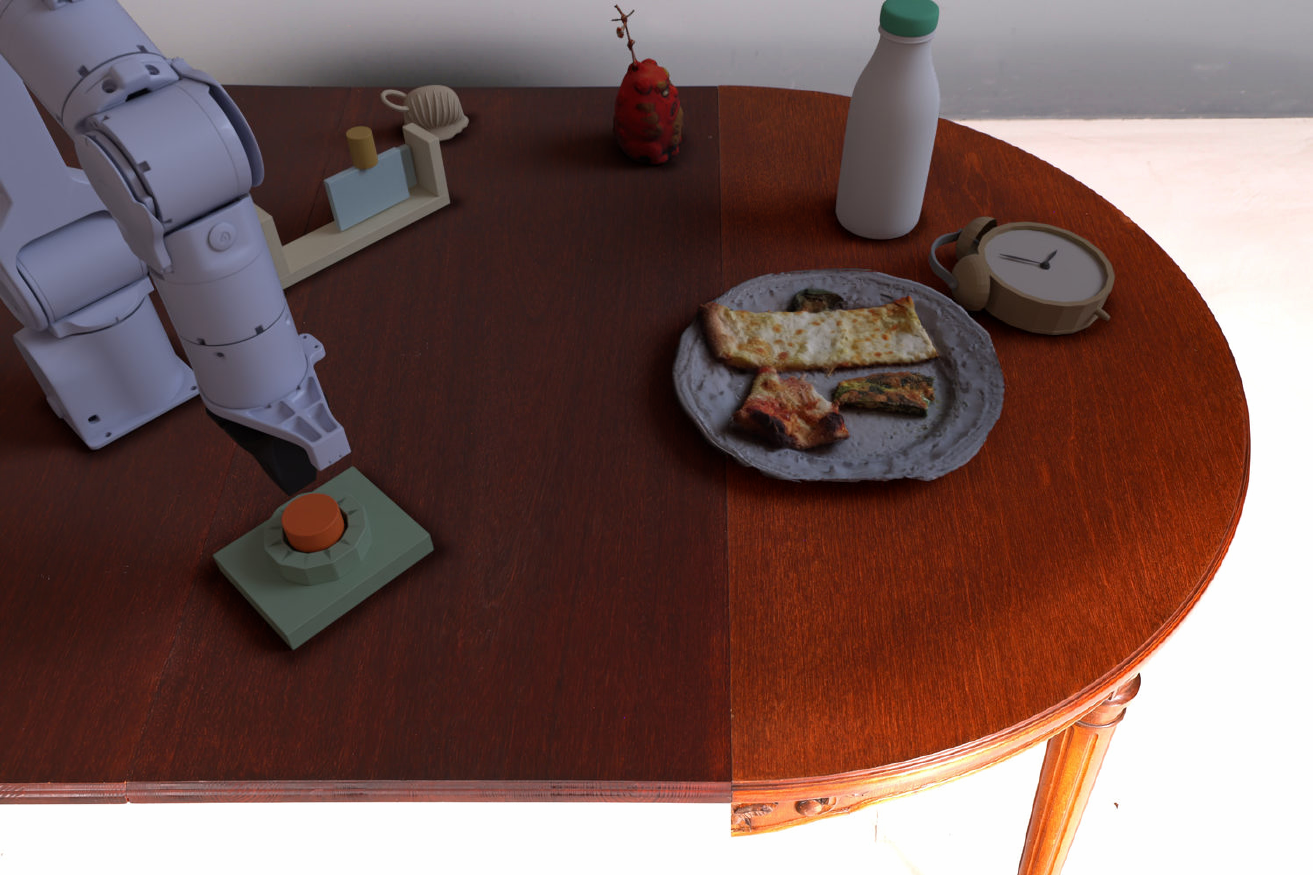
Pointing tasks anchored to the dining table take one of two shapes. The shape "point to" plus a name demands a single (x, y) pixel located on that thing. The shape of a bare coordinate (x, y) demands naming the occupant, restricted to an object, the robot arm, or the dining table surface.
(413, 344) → the dining table surface
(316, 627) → the button block
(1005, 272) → the alarm clock
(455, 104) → the decorative ornament
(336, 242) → the window frame
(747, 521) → the dining table surface
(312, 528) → the button
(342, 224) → the blue panel with knob
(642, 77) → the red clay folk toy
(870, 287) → the food plate
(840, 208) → the milk bottle
